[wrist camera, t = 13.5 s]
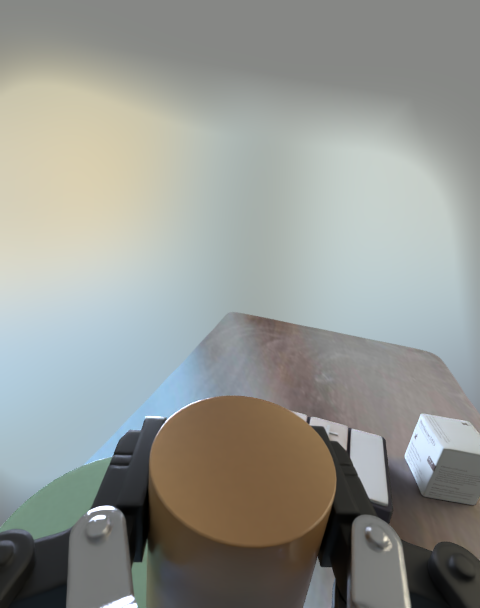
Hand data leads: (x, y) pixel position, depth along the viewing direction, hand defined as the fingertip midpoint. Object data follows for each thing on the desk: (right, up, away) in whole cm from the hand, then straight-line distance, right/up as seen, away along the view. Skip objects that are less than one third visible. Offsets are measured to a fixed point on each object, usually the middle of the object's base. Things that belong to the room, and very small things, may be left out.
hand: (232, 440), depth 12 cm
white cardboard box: (+25, -17, +27) cm, 40 cm away
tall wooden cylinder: (-1, -8, 0) cm, 8 cm away
